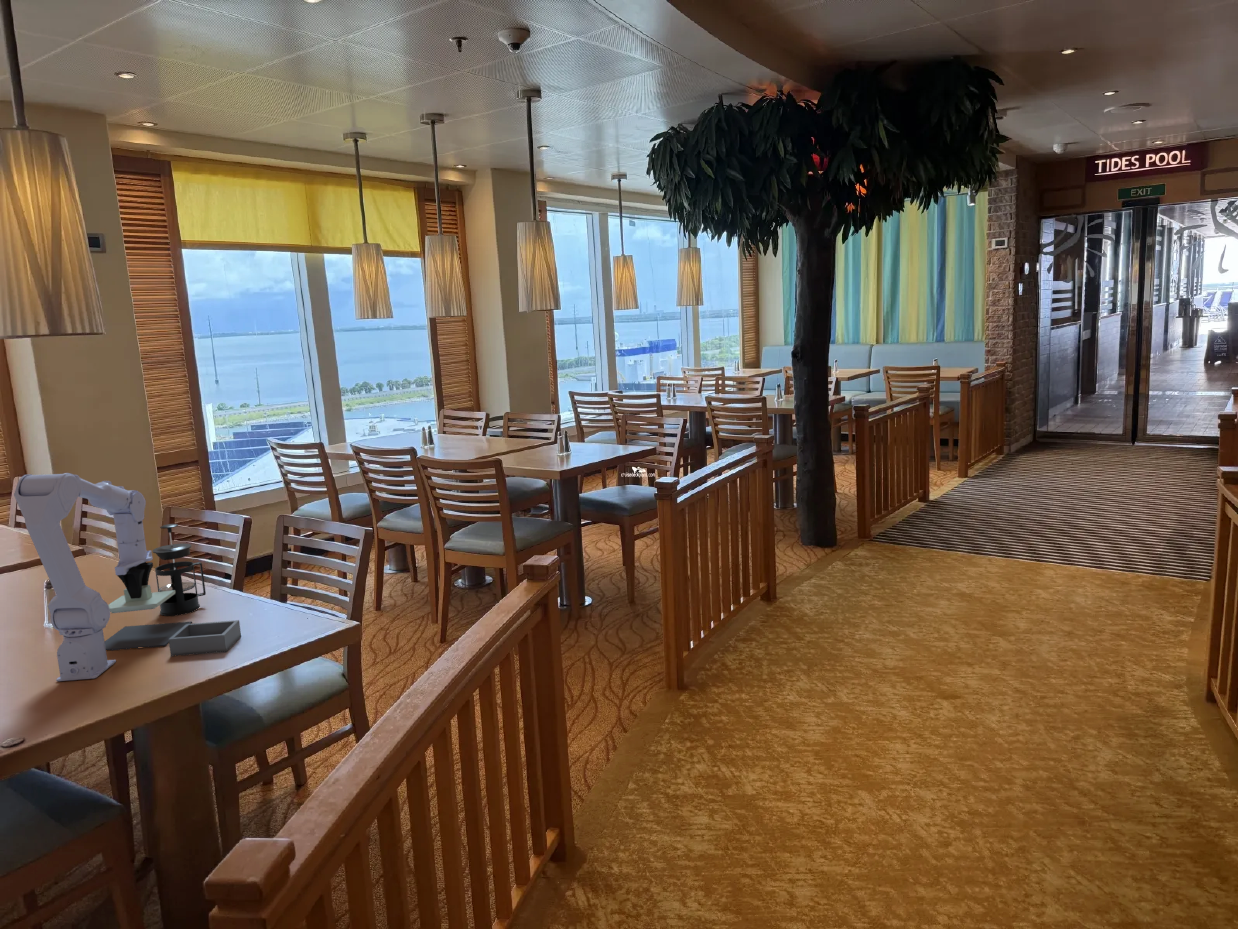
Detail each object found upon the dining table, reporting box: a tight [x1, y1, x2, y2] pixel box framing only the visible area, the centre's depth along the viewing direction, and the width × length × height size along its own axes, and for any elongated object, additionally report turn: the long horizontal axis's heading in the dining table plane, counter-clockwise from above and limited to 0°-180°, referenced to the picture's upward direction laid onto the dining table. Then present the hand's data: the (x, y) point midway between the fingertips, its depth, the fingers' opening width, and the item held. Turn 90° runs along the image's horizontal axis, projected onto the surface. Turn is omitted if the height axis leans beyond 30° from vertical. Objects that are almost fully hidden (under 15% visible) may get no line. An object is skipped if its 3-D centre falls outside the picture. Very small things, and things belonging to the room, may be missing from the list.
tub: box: [168, 619, 242, 657], centre depth 196 cm, size 10×12×4 cm
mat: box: [104, 621, 193, 651], centre depth 205 cm, size 16×16×1 cm
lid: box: [108, 584, 175, 614], centre depth 203 cm, size 10×12×5 cm
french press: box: [152, 523, 207, 617], centre depth 223 cm, size 12×9×23 cm
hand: (138, 596), depth 203 cm, fingers closed on lid, 2 cm apart
